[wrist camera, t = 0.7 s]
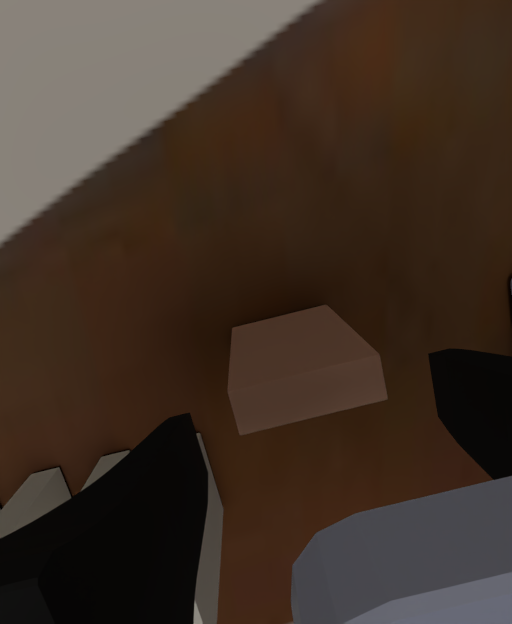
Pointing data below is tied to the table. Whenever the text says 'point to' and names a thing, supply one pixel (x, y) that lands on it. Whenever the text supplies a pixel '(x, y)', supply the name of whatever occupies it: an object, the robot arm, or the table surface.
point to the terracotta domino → (300, 369)
